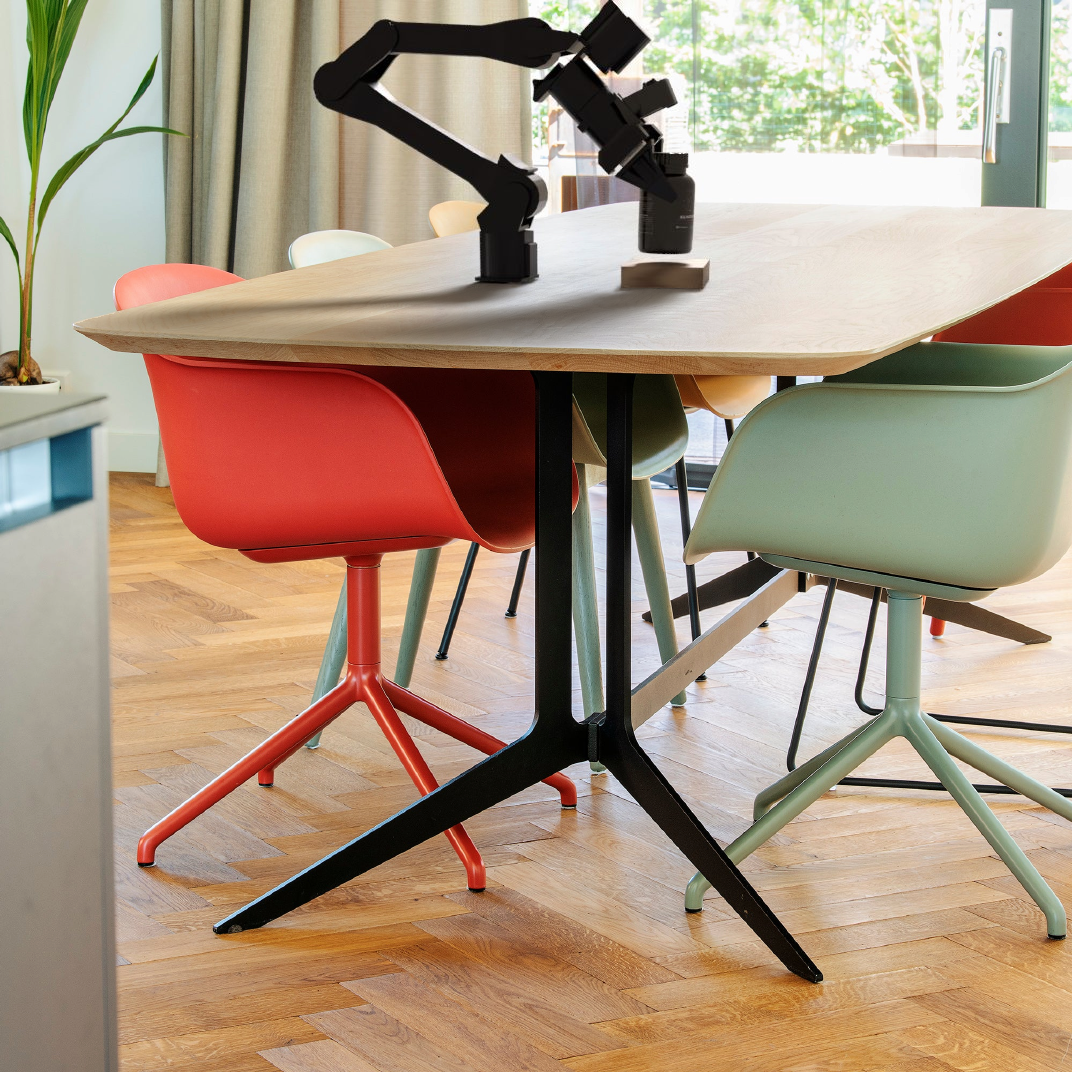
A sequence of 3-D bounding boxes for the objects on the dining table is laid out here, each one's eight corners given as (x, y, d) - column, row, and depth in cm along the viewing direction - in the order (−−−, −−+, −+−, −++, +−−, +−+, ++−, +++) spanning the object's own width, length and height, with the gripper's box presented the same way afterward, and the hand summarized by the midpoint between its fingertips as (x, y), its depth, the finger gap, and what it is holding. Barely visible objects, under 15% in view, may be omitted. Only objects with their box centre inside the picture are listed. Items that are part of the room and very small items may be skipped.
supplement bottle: (693, 255, 158) (697, 153, 155) (637, 255, 159) (640, 152, 155) (691, 250, 165) (695, 151, 161) (637, 249, 165) (640, 151, 162)
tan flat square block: (620, 287, 159) (621, 266, 159) (631, 277, 169) (631, 258, 168) (702, 288, 157) (703, 267, 157) (709, 279, 167) (709, 259, 166)
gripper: (628, 49, 147) (722, 152, 148) (648, 57, 164) (731, 149, 166) (559, 122, 151) (651, 221, 152) (585, 122, 168) (667, 211, 169)
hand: (678, 198), depth 160 cm, fingers closed on supplement bottle, 7 cm apart
